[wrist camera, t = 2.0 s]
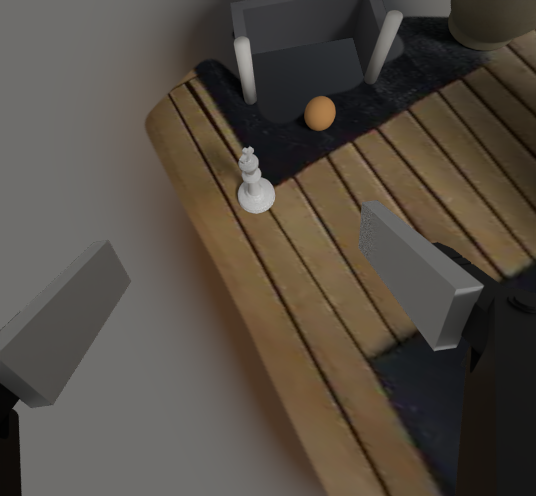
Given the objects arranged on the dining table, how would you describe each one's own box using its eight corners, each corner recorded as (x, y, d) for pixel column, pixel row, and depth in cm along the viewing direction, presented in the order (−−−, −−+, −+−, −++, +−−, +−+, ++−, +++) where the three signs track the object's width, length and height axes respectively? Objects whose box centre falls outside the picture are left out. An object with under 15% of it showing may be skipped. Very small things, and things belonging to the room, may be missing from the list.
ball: (324, 108, 35) (329, 83, 31) (337, 130, 34) (344, 108, 30) (298, 119, 35) (300, 95, 31) (310, 141, 34) (314, 120, 30)
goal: (377, 83, 35) (404, 20, 27) (245, 105, 36) (234, 50, 28) (361, 27, 38) (382, -45, 30) (237, 49, 38) (225, -17, 30)
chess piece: (282, 191, 32) (282, 143, 23) (260, 220, 32) (251, 184, 22) (252, 172, 33) (239, 118, 24) (230, 200, 33) (208, 157, 23)
